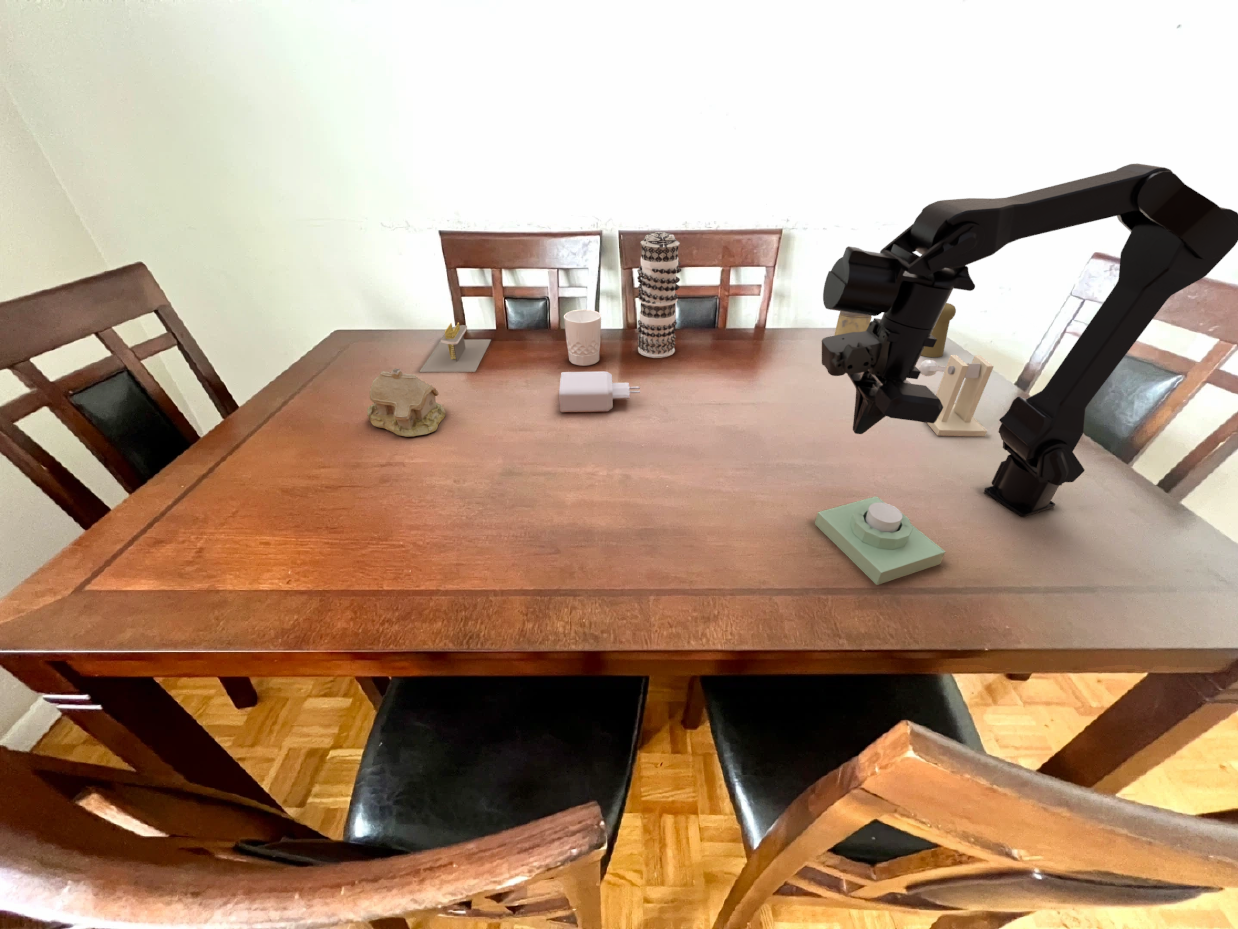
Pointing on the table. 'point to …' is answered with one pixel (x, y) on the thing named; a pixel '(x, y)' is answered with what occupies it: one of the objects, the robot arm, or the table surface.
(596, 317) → the white cup
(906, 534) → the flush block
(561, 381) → the charger
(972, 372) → the flush lever
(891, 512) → the flush button
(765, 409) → the table surface
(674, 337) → the decorative candle
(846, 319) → the lighter
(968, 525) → the table surface
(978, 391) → the lever stand
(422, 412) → the ceramic model
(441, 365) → the platform
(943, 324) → the olive rounded cone
